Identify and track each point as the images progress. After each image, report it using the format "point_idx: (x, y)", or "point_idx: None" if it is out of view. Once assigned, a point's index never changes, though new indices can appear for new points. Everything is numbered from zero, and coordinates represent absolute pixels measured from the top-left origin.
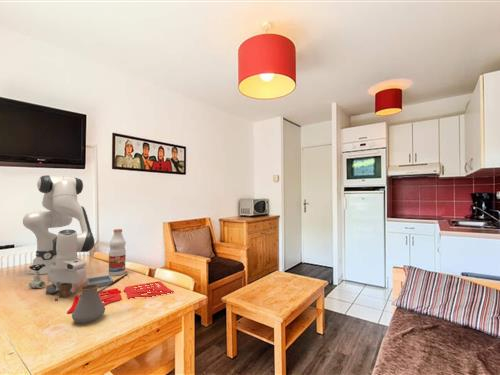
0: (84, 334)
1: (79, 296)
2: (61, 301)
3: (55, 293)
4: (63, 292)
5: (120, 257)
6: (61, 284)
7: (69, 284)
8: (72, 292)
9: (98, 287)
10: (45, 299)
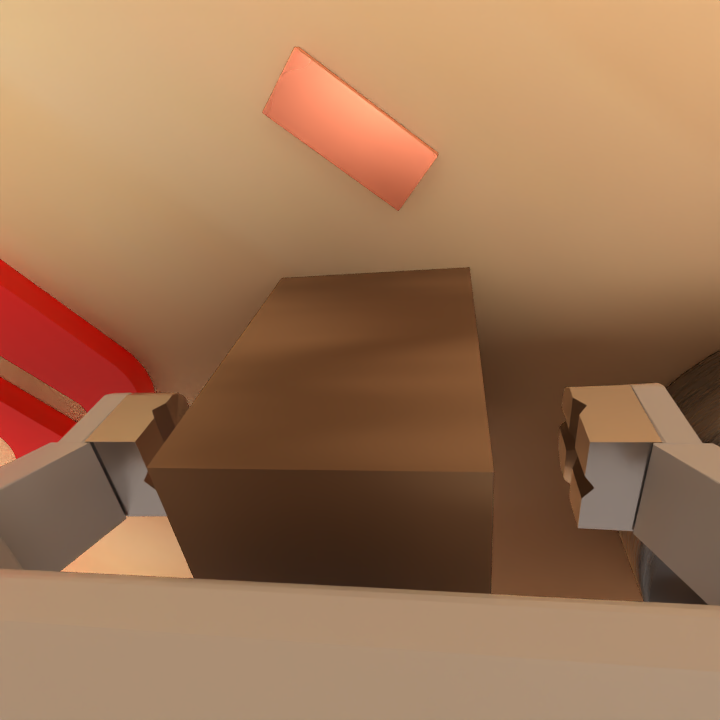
0: None
1: (42, 378)
2: (141, 110)
3: (715, 369)
4: (297, 330)
5: None
6: (429, 519)
7: (204, 574)
8: (118, 394)
9: None
10: (689, 28)
